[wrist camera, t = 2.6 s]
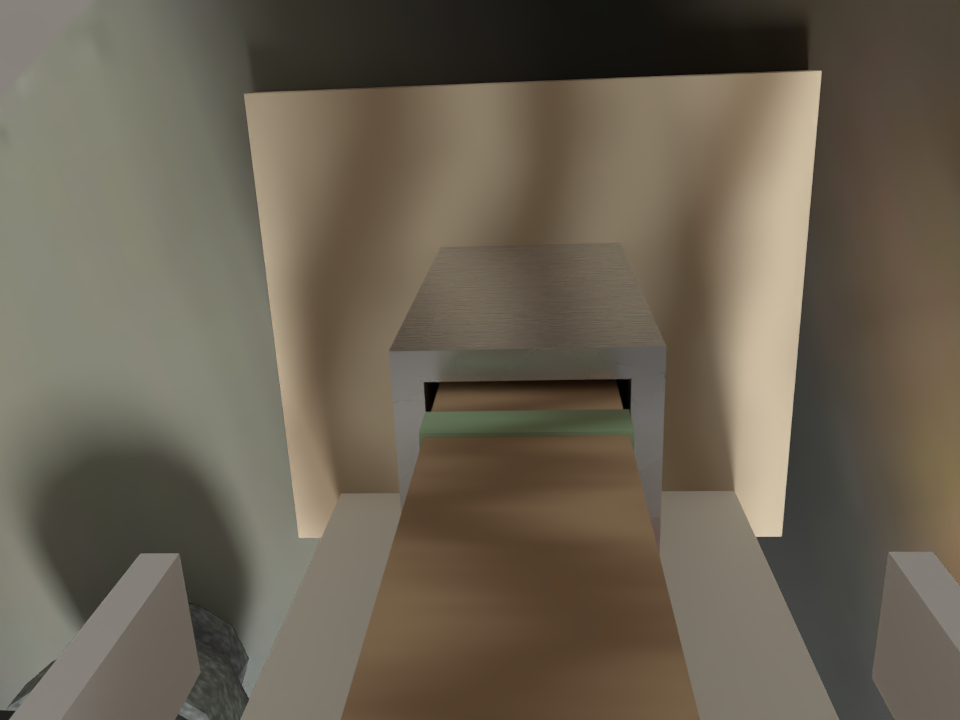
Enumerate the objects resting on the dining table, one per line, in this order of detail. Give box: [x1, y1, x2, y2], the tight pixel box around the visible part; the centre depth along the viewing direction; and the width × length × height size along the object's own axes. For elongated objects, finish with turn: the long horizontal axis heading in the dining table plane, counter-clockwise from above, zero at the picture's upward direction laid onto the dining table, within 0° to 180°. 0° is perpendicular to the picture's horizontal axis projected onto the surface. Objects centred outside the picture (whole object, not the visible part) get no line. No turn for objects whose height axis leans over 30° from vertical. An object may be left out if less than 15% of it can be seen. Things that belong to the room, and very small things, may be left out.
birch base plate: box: [244, 70, 822, 538], centre depth 34 cm, size 20×18×2 cm
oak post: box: [341, 379, 700, 720], centre depth 21 cm, size 5×5×24 cm
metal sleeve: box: [389, 243, 666, 555], centre depth 27 cm, size 7×7×12 cm
